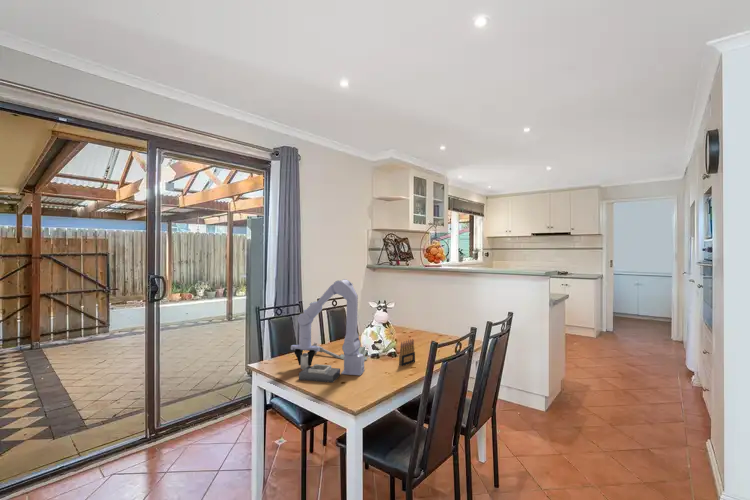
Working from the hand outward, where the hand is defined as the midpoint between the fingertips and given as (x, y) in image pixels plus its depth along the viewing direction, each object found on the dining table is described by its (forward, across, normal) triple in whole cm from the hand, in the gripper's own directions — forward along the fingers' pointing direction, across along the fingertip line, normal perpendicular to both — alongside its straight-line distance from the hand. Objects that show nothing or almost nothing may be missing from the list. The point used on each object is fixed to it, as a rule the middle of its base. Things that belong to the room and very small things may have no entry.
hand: (305, 365), depth 176 cm
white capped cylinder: (+1, 0, 0) cm, 1 cm away
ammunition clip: (+2, -48, -19) cm, 52 cm away
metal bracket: (+2, -19, -25) cm, 31 cm away
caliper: (+2, -3, -23) cm, 23 cm away
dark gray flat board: (+1, -12, +11) cm, 16 cm away
